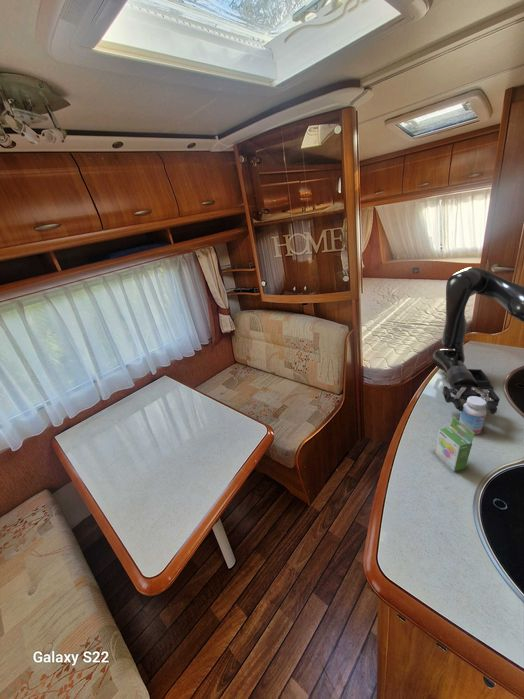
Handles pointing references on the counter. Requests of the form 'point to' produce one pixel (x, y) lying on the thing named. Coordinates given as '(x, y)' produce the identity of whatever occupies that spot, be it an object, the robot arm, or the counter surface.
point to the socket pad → (480, 378)
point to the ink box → (454, 445)
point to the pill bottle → (473, 414)
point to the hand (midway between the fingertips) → (477, 410)
